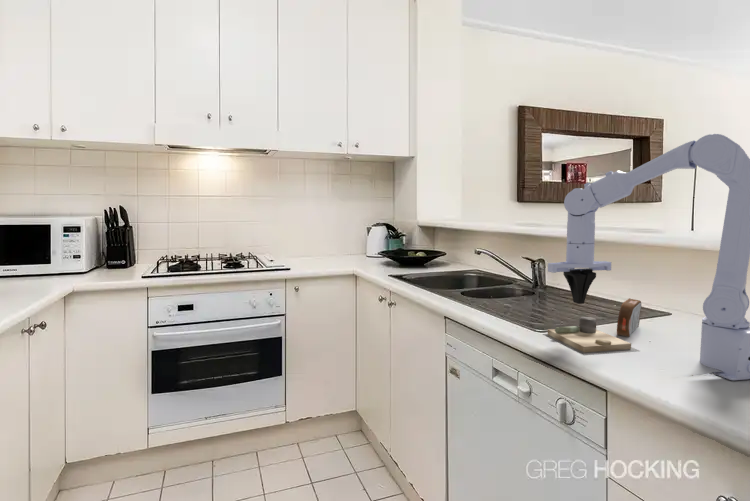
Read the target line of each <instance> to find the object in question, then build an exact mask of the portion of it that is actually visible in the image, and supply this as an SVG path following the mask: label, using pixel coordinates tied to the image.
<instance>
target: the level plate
mask: <svg viewBox="0 0 750 501" xmlns="http://www.w3.org/2000/svg"><path fill="white" fill-rule="evenodd" d="M547 334H548V335H550V336H552V337H554V338H556V339H558V340H560V341H562V342H564V343H566V344H568V345H570V346H572V347H574V348H576V349H578V350H580V351H582V352H597V351H611V350H625V349H631V347H632V343H631V342H629V341H627V340H625V339H621V338H619V337H616V336H613V335H612V334H608V333H606V332H604V331H601V330H598V329H597V318H595V317H591V316H579V323H578V325H571V326H556V327H555V328H551V329H549V328H548V329H547Z"/></svg>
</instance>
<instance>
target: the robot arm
mask: <svg viewBox="0 0 750 501" xmlns="http://www.w3.org/2000/svg"><path fill="white" fill-rule="evenodd" d="M697 167H699V168H701V170H704V171H707V172H709V173H711V174H714V175H715V176H716V178H718V179H719V180H720V181H722V183H724V184H725V185H726V186H727V187H728V195H727V201H726V205H725V214H724V218H723V224H722V226H723V227H722V232H721V237H720V238H721V239H720V245H719V251H718V252H719V253H718V257H717V263H716V271H715V275H714V279H713V282H712V287H711V292H710V293H709V294H708V296H707V297H706V298H705V299H704V301H703V304H702V311H703V314H704V317H702V318H701V331H700V332H701V333H700V352H699V362H700V364H701V365H703V366H706V367H708V368H711V369H714V370H719V371H714V372H712V371H711V372H710V373H711V374H713V375H717V376H719V377H721V378H724V379H726V380H728V381H742V380H743V381H744V380H750V321H748V319H746V314H747V311H748V309H749V307H750V298H749V297H748V294H747V292H746V290H747V289H746V288H747V287H746V286H747V279H748V278H747V277H748V270H749V264H750V157H749V156H748V154H747V152H746V151H745V150H744V149H743V148H742V146H740V144H738V143H737V142H735V141H734V140H733V139H731V138H729V137H728V136H726V135H725V134H722V133H721V134H720V133H709V134H706V135H704V136H701V137H700V138H698V139H697V140H690V141H687V142H685V143H683V144H682V145H679V146H677V147H674V148H672V149H670V150H669V151H667V152H665V153H663V154H660V155H659V156H657V157H655V158H653V159H651V160H650V161H647V162H645V163H643V164H641V165H640V166H637V167H636V168H634V169H632V170H629V171H628V172H624V171H622V170H616V171H612V170H609V171H607V172H606V173H605V176H603V177H601V178H600V179H598V180H595V181H593V182H592V183H590V182H586V183H585V184H583V185H584V186H583V188H580V187H578V188H577V187H576V188H573V189H572V190H571V191H569V192H568V193H567V194H566V196H565V197H564V201H563V206H564V208H565V210H566V211H567V222H566V224H567V225H566V253H565V254H566V257H565V261H559V262H548V263H547V272H548V273H552V274H554V273H563V276H564V278H565V280H566V282H567V284H568V286H569V289H570V293H571V296H572V301H573V302H572V303H575V304H577V305H578V304H579V305H582V304H585V301H586V298H587V296H588V295H587V294H588V292H589V290H590V287H591V285H592V283H593V282H594V280H595V279H596V278H597V272H595V271H607V272H608V271H612V261H607V260H603V261H599V260H596V261H595V245H596V244H595V236H596V235H595V234H596V221H595V220H596V212H597V211H598V209H599V208H600V209H601V208H604V207H607V206H608V205H610V204H613V203H616V202H617V201H620V200H622V199H624V198H627V197H629V196H631V194H632V193H633V191H634V189H635V187H636V186H639V185H641V184H644V183H645V182H647V181H651V180H654V179H655V178H657V177H660V176H662V175H665V174H667V173H669V172H672V171H674V170H678V169H679V170H680V169H681V170H684V169H685V170H686V169H687V170H696V169H697Z"/></svg>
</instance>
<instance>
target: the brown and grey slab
mask: <svg viewBox="0 0 750 501" xmlns="http://www.w3.org/2000/svg"><path fill="white" fill-rule="evenodd" d="M641 309H642V301H641V300H638V299H636V298H635V299H634V298H631V297H630V298H627V299H626V300H625V301H624V302H622V304H621V305H620V308H619V312H618V315H617V316H618V317H617V324H616V335H617V336H621V337H627V338H629V337H630V336H631V335H632V333H634V331H635V330H636V329H637V328H639V326H640V317H641V315H640V314H641Z"/></svg>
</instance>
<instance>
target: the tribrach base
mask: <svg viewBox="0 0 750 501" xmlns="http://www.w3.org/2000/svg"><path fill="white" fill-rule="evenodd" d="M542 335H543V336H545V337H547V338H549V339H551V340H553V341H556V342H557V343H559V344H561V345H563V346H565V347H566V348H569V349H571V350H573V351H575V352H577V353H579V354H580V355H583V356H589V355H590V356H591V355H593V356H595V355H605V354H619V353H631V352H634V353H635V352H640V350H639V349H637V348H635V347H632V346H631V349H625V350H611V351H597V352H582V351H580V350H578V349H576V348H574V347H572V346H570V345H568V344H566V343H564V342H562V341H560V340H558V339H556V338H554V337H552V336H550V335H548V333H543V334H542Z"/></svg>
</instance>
